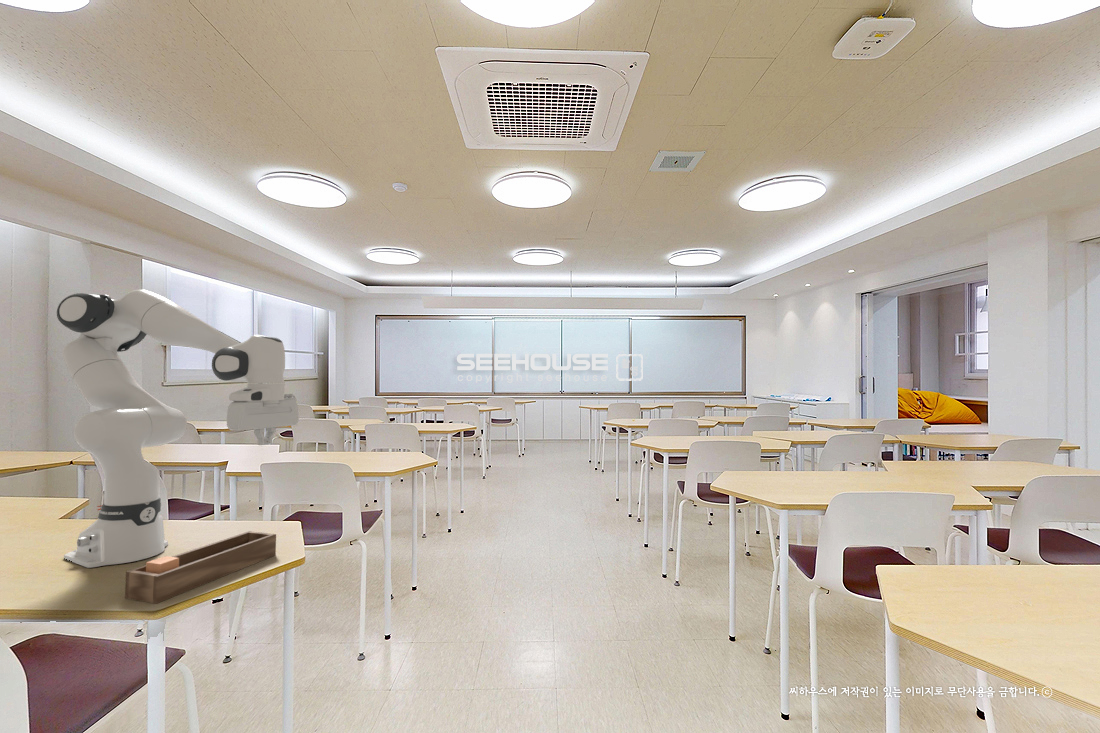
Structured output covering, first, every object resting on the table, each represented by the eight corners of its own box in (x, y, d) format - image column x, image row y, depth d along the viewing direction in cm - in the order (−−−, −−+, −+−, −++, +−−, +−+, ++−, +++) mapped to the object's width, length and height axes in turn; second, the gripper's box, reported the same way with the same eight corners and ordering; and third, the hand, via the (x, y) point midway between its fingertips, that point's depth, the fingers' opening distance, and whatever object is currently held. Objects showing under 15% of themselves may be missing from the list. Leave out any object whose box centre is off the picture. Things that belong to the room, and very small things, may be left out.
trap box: (124, 598, 103) (125, 571, 103) (248, 551, 131) (249, 531, 132) (156, 603, 100) (157, 576, 100) (275, 555, 129) (276, 534, 129)
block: (145, 581, 104) (146, 562, 104) (164, 574, 108) (165, 556, 108) (159, 583, 103) (160, 564, 103) (178, 576, 107) (179, 557, 107)
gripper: (287, 393, 145) (286, 440, 144) (223, 394, 125) (221, 448, 124) (304, 393, 143) (303, 441, 142) (242, 394, 123) (240, 449, 123)
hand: (264, 444), depth 133 cm, fingers closed
